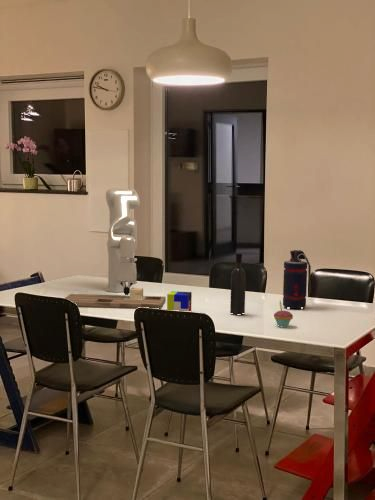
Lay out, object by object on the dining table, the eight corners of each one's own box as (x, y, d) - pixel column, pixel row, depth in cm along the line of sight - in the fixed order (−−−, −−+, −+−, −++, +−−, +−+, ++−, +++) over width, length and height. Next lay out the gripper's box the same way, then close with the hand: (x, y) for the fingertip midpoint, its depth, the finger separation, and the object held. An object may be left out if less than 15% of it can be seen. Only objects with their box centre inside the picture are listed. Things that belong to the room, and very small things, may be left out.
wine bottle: (229, 314, 329) (230, 253, 326) (236, 312, 333) (238, 252, 330) (238, 315, 325) (239, 254, 322) (245, 314, 329) (247, 253, 326)
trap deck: (70, 298, 366) (70, 293, 365) (165, 301, 362) (165, 296, 362) (59, 306, 342) (59, 301, 341) (160, 309, 338) (160, 304, 338)
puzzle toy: (187, 315, 324) (187, 295, 323) (167, 314, 326) (167, 294, 325) (191, 312, 334) (191, 292, 333) (171, 310, 336) (171, 291, 335)
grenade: (284, 309, 343) (286, 251, 340) (281, 305, 355) (282, 249, 352) (311, 310, 343) (313, 252, 340) (307, 306, 354) (309, 249, 351)
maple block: (132, 297, 359) (132, 287, 358) (143, 297, 358) (143, 288, 358) (129, 298, 353) (129, 289, 352) (141, 299, 352) (141, 289, 352)
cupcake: (270, 326, 302) (271, 300, 301) (278, 323, 309) (279, 297, 308) (287, 329, 298) (288, 302, 296) (295, 325, 305) (296, 299, 304)
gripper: (141, 260, 358) (141, 294, 360) (114, 259, 359) (114, 293, 361) (140, 261, 351) (139, 296, 353) (111, 260, 352) (111, 295, 354)
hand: (126, 294), depth 357 cm, fingers closed
